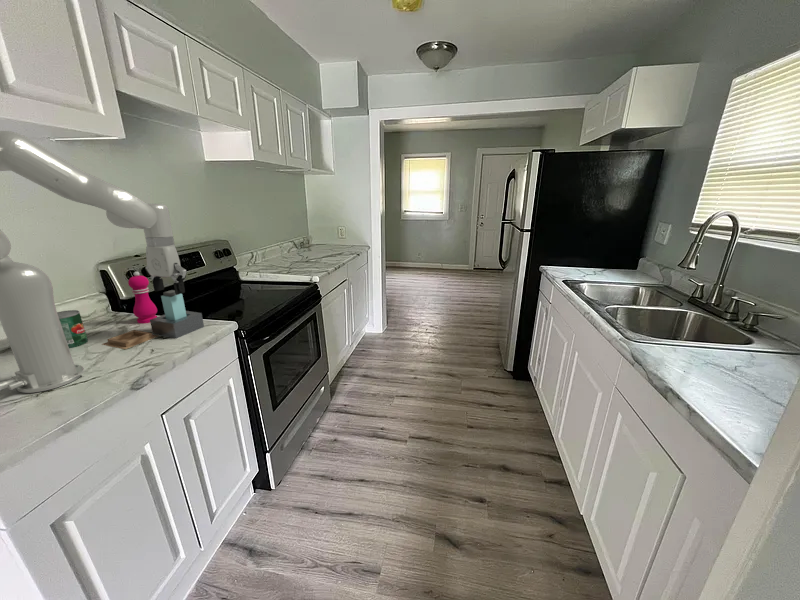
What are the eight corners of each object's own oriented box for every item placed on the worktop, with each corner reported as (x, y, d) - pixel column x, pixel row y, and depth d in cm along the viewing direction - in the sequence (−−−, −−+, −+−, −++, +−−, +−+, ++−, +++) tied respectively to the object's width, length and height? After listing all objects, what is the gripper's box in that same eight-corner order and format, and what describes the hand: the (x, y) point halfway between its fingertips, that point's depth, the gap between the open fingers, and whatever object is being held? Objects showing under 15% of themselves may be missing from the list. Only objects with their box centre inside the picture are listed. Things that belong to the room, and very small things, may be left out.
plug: (176, 324, 114) (169, 294, 110) (166, 322, 115) (160, 292, 112) (187, 320, 118) (181, 290, 114) (178, 318, 119) (172, 289, 116)
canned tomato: (52, 346, 105) (41, 314, 102) (85, 338, 111) (75, 308, 108) (58, 353, 101) (47, 320, 97) (91, 344, 107) (82, 313, 104)
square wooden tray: (125, 351, 103) (123, 345, 102) (101, 345, 106) (100, 340, 106) (159, 337, 113) (158, 332, 112) (136, 333, 116) (135, 327, 116)
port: (176, 340, 111) (173, 322, 109) (153, 335, 114) (149, 318, 112) (204, 328, 121) (201, 312, 119) (182, 324, 124) (178, 308, 122)
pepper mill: (131, 324, 124) (118, 273, 118) (150, 317, 131) (138, 269, 124) (145, 326, 122) (133, 274, 116) (164, 319, 129) (152, 270, 122)
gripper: (129, 241, 107) (140, 292, 112) (169, 245, 102) (178, 297, 107) (152, 239, 114) (162, 287, 119) (190, 242, 109) (198, 291, 114)
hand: (169, 291), depth 113 cm, fingers open, 9 cm apart
